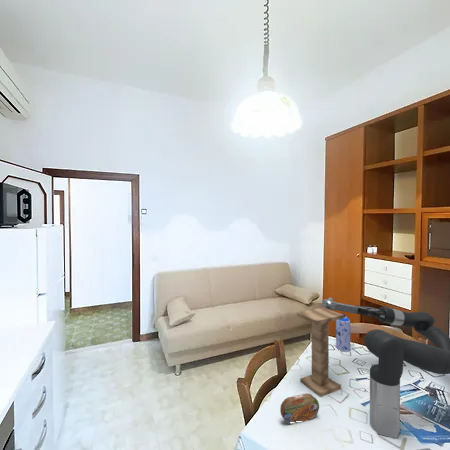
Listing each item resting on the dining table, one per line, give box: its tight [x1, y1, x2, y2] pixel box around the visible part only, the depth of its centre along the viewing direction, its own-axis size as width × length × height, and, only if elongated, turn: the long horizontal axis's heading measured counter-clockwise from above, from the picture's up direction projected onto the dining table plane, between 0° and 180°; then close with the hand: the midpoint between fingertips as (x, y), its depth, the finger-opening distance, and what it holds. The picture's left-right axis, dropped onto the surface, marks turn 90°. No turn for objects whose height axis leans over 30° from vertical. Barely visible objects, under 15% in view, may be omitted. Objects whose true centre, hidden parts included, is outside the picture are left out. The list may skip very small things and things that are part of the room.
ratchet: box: [320, 297, 370, 317], centre depth 132 cm, size 24×6×5 cm, turn 101°
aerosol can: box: [335, 313, 352, 353], centre depth 155 cm, size 8×8×20 cm
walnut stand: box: [296, 306, 344, 398], centre depth 120 cm, size 16×12×32 cm
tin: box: [279, 392, 320, 425], centre depth 99 cm, size 15×3×8 cm, turn 106°
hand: (357, 308), depth 133 cm, fingers closed on ratchet, 4 cm apart
